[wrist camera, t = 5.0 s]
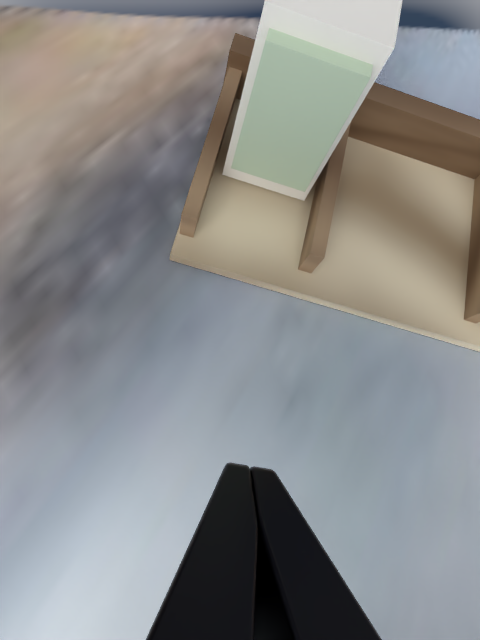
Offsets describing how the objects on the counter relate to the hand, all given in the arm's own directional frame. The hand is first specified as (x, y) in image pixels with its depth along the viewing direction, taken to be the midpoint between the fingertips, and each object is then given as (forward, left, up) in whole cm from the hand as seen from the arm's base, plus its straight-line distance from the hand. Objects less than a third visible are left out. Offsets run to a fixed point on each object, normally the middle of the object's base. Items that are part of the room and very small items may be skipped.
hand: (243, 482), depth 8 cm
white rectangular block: (+12, -7, -9) cm, 17 cm away
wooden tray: (+8, -12, -9) cm, 17 cm away
